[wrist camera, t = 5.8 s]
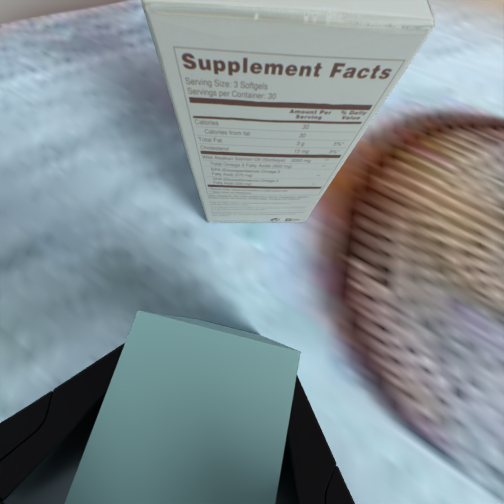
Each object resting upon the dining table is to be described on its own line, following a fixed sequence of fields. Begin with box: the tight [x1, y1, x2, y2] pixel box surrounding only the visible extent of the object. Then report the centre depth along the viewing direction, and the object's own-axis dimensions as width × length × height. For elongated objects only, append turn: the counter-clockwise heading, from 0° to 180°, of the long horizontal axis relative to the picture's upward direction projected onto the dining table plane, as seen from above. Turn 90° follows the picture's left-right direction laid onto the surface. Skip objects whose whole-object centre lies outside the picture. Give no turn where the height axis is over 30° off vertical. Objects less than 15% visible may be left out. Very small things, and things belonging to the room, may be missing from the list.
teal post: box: [65, 310, 300, 504], centre depth 10 cm, size 4×4×10 cm
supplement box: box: [142, 0, 435, 223], centre depth 13 cm, size 7×7×13 cm
